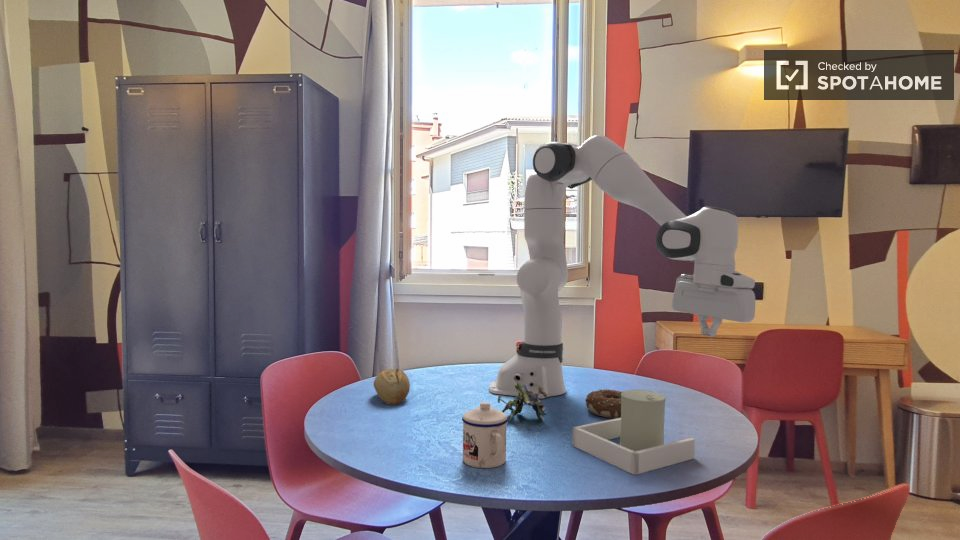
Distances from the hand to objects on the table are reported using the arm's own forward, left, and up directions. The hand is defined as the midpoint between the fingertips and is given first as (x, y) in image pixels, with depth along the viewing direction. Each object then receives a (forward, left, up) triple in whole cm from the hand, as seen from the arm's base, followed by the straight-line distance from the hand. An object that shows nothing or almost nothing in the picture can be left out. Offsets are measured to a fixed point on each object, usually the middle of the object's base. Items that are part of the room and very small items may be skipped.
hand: (708, 335), depth 136 cm
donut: (-20, +10, -23) cm, 32 cm away
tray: (-18, -18, -22) cm, 34 cm away
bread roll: (-80, +11, -23) cm, 84 cm away
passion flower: (-43, -2, -23) cm, 48 cm away
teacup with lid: (-48, -30, -23) cm, 61 cm away
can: (-16, -16, -23) cm, 32 cm away
